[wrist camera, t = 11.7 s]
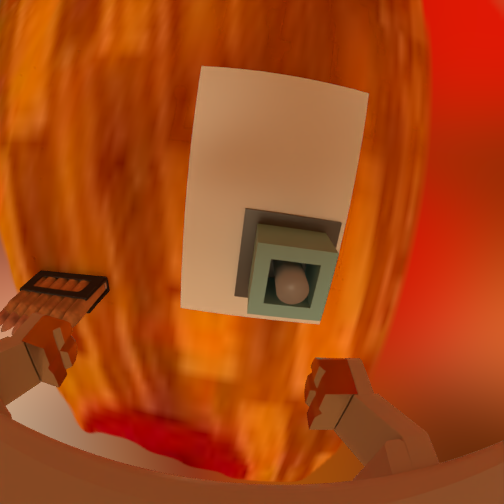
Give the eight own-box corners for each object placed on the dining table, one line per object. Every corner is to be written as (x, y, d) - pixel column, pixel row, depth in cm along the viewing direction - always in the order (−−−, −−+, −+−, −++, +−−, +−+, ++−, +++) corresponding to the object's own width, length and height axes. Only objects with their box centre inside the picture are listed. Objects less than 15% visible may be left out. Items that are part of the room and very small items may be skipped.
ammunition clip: (107, 276, 32) (54, 338, 21) (110, 290, 33) (60, 354, 22) (40, 270, 32) (-17, 318, 21) (43, 283, 33) (-11, 333, 22)
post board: (204, 69, 24) (186, 48, 17) (363, 95, 25) (396, 85, 18) (183, 300, 33) (167, 342, 26) (317, 316, 34) (329, 360, 27)
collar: (257, 223, 28) (257, 242, 23) (325, 232, 28) (338, 253, 23) (248, 285, 30) (246, 313, 25) (311, 293, 30) (320, 321, 26)
